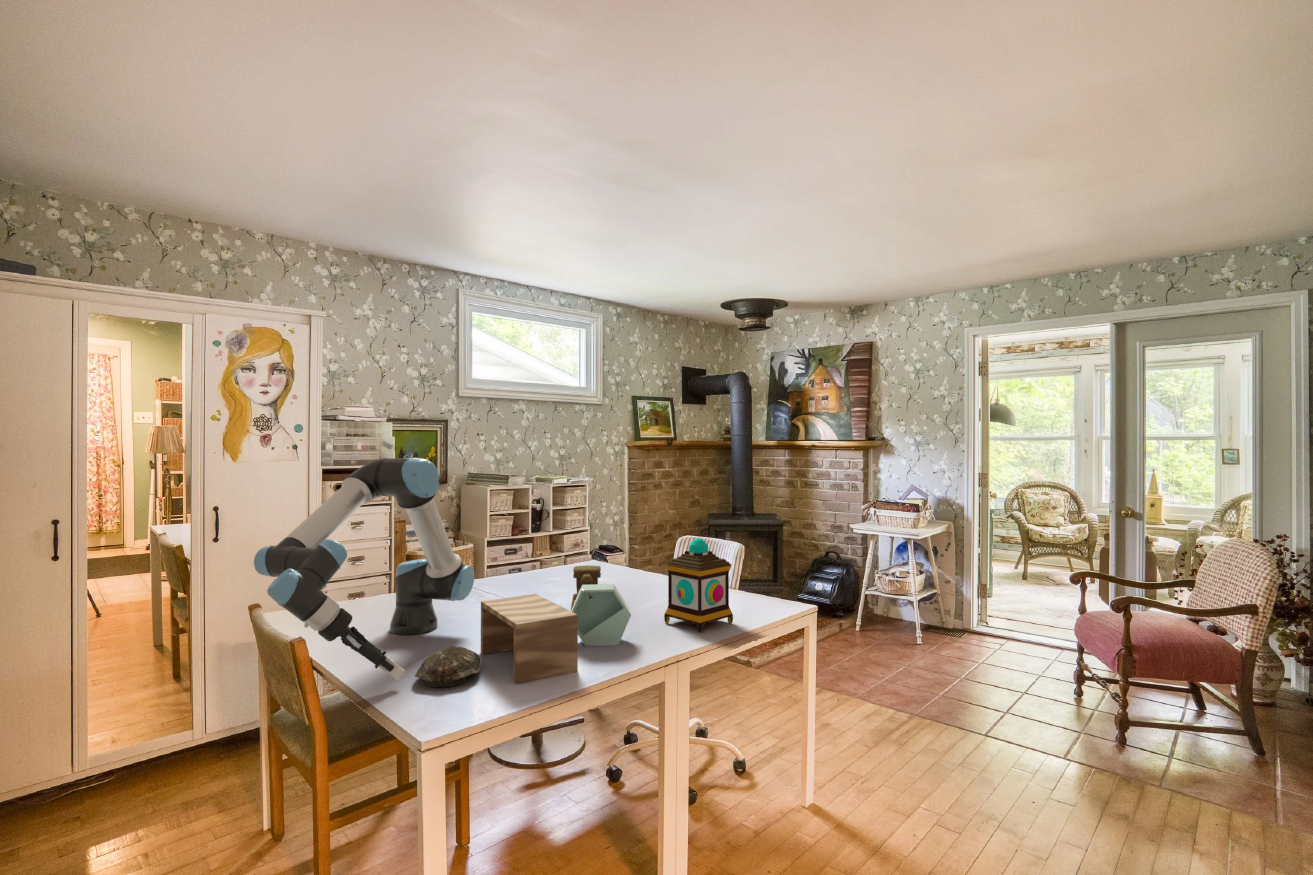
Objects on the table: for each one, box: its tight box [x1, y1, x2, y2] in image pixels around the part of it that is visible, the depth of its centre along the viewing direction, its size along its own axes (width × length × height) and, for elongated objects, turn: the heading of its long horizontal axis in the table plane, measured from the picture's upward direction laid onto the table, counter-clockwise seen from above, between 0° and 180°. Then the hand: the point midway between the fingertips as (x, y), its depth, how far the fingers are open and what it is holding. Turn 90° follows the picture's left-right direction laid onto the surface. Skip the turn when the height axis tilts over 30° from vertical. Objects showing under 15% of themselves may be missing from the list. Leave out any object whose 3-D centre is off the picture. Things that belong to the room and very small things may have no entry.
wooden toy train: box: [570, 565, 602, 611], centre depth 230 cm, size 20×11×17 cm, turn 5°
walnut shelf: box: [480, 593, 579, 685], centre depth 180 cm, size 30×18×16 cm, turn 33°
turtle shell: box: [414, 645, 481, 688], centre depth 168 cm, size 16×9×20 cm
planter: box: [570, 583, 632, 647], centre depth 198 cm, size 17×8×21 cm
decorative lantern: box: [663, 537, 734, 634], centre depth 220 cm, size 20×20×30 cm
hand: (400, 675), depth 161 cm, fingers closed
